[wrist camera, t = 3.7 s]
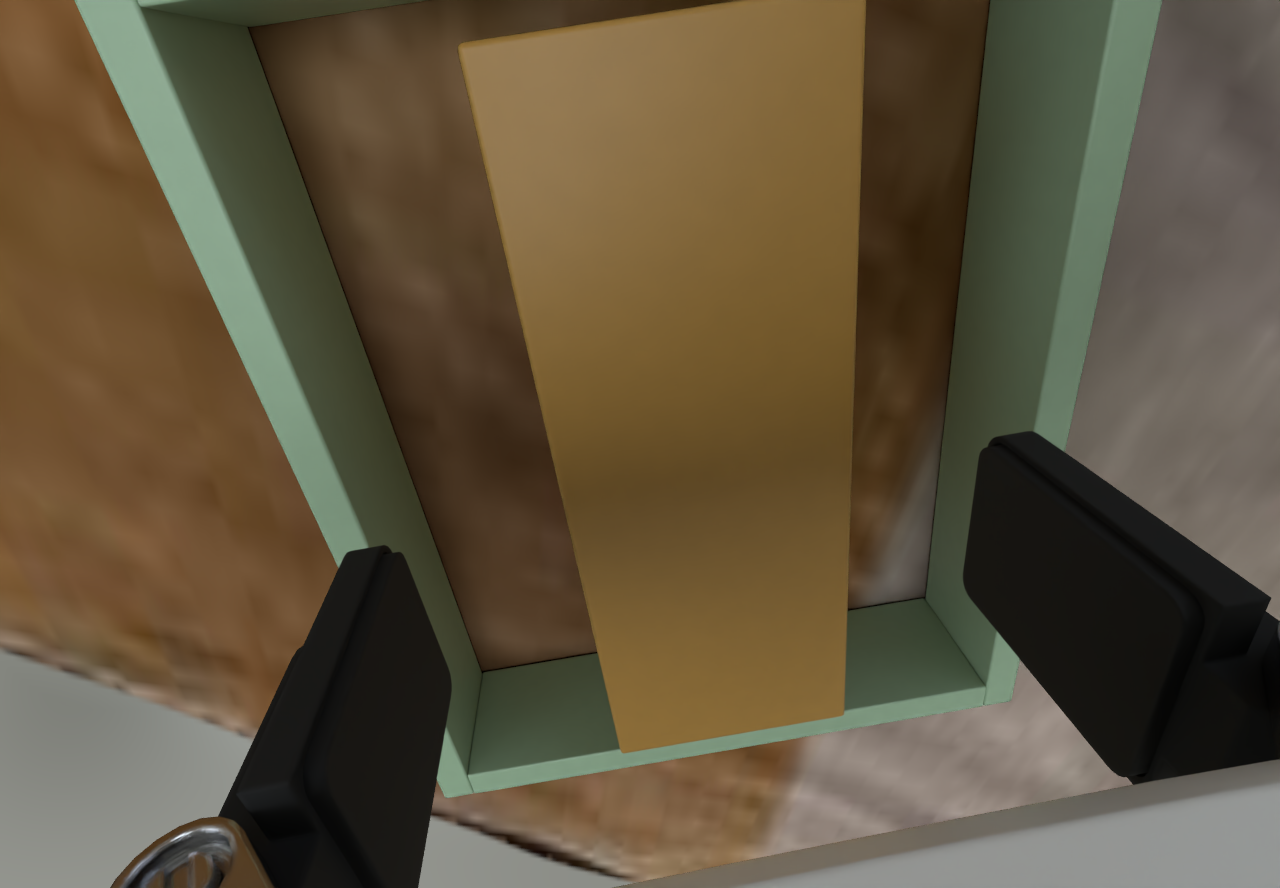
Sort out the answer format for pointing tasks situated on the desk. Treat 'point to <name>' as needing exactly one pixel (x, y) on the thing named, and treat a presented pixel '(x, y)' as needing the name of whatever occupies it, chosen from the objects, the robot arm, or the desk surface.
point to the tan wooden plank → (692, 339)
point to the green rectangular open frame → (368, 448)
